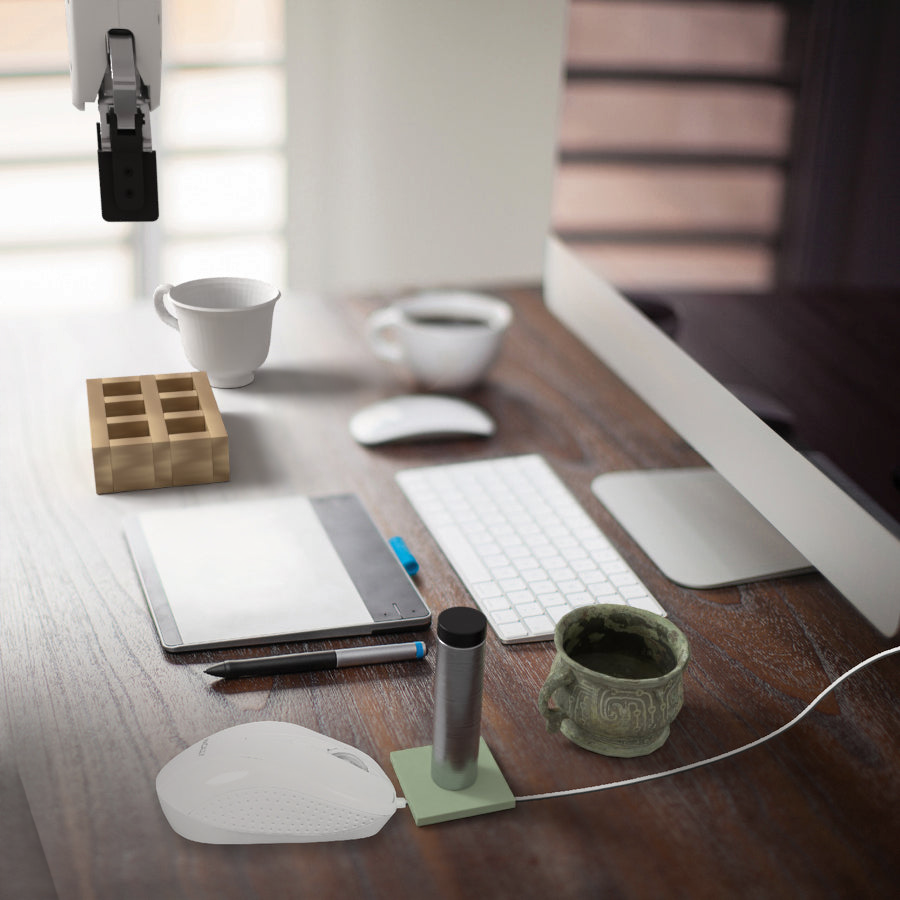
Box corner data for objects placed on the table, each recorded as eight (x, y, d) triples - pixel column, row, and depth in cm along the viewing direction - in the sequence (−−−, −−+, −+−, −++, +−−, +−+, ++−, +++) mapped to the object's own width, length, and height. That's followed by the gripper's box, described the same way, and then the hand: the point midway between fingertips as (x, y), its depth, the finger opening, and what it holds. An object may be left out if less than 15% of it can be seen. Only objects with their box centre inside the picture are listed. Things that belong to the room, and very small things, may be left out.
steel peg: (438, 794, 67) (446, 636, 62) (424, 763, 69) (431, 609, 64) (483, 786, 67) (494, 629, 63) (468, 756, 70) (477, 603, 65)
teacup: (188, 350, 135) (183, 268, 130) (301, 370, 130) (300, 285, 126) (128, 383, 124) (120, 295, 120) (248, 406, 120) (245, 315, 116)
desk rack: (96, 494, 100) (91, 447, 98) (90, 420, 115) (86, 378, 113) (230, 481, 104) (228, 436, 102) (207, 411, 118) (205, 370, 116)
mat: (417, 827, 65) (417, 819, 65) (389, 759, 70) (389, 751, 70) (515, 807, 67) (516, 799, 66) (481, 743, 72) (482, 735, 72)
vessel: (642, 661, 81) (652, 585, 78) (727, 733, 74) (741, 652, 71) (498, 707, 75) (504, 627, 73) (575, 790, 68) (584, 704, 66)
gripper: (44, -107, 70) (66, 174, 77) (32, -113, 55) (61, 237, 62) (169, -99, 72) (180, 174, 79) (191, -102, 57) (202, 235, 64)
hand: (128, 202), depth 71 cm, fingers open, 9 cm apart
